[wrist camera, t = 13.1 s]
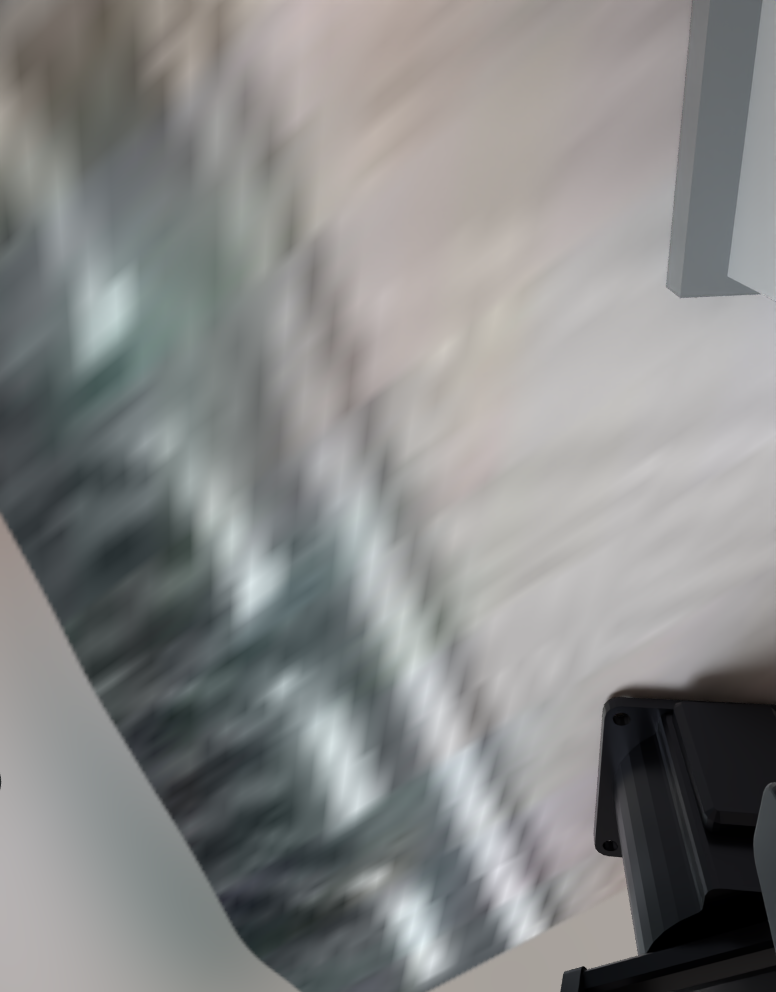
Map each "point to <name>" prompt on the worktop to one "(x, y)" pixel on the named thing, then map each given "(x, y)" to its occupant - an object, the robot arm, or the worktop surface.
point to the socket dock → (727, 154)
